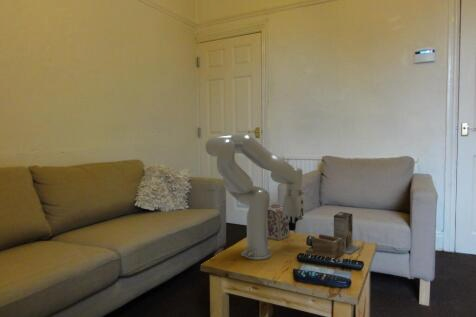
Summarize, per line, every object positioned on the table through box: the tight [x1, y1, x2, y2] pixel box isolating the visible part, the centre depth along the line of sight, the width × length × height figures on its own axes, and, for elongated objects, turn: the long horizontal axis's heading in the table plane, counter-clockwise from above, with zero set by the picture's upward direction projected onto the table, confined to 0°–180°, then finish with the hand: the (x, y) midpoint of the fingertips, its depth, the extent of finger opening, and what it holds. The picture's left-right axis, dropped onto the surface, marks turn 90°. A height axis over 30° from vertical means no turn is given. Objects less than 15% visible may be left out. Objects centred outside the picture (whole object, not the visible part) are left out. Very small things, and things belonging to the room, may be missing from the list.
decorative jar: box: [268, 202, 291, 241], centre depth 189 cm, size 12×12×18 cm
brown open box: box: [305, 233, 344, 259], centre depth 161 cm, size 10×14×8 cm
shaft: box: [305, 235, 315, 248], centre depth 162 cm, size 5×14×5 cm, turn 50°
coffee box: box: [333, 211, 354, 251], centre depth 168 cm, size 9×6×16 cm
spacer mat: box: [343, 244, 361, 255], centre depth 168 cm, size 12×12×1 cm
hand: (292, 230), depth 171 cm, fingers closed
